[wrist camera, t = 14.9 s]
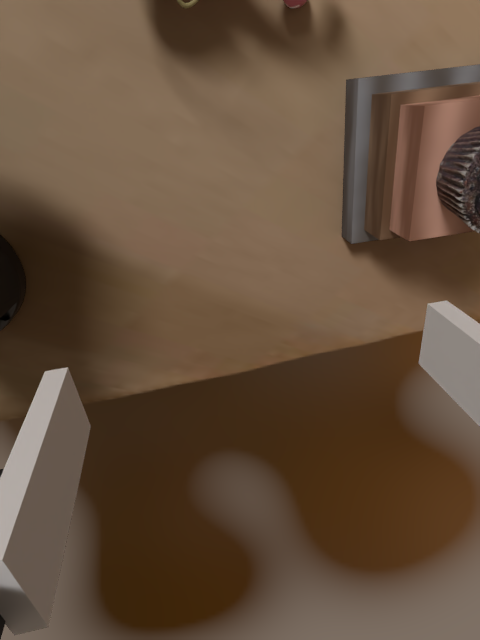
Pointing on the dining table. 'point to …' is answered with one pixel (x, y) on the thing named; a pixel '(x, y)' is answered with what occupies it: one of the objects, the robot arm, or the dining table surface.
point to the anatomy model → (290, 0)
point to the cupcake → (462, 179)
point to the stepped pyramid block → (403, 151)
